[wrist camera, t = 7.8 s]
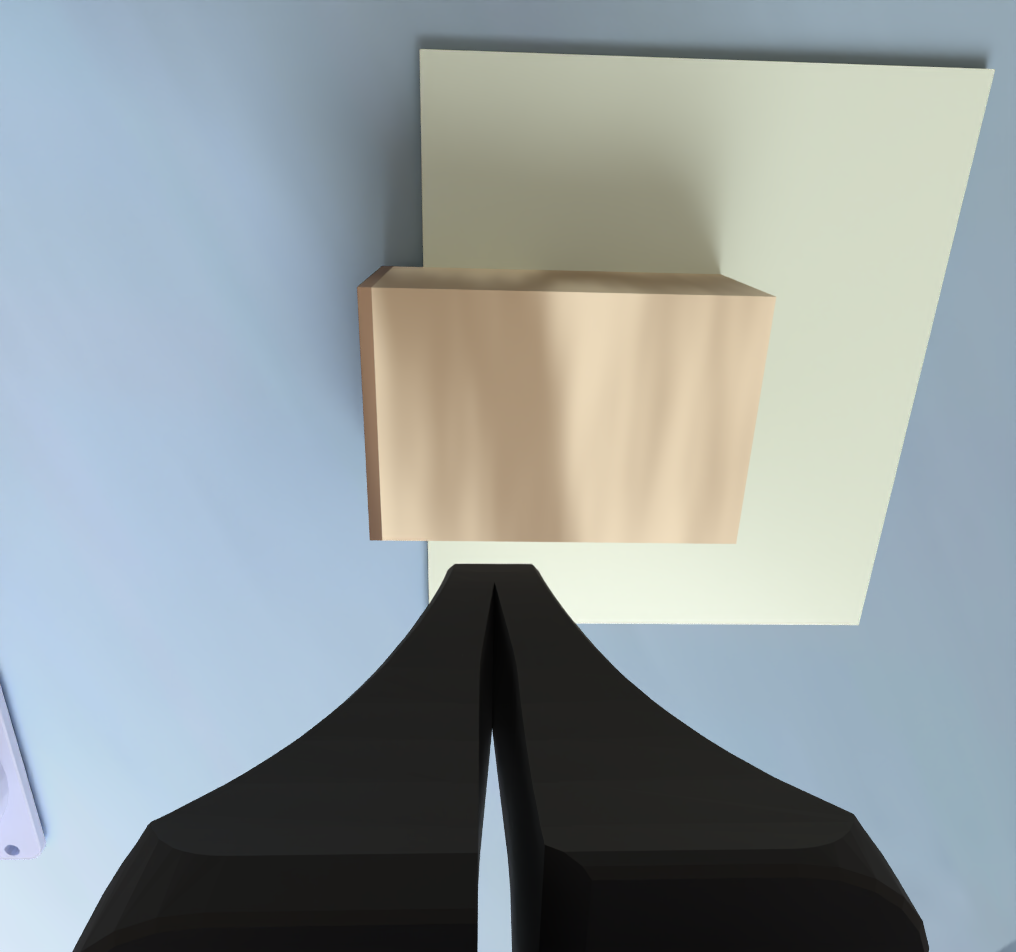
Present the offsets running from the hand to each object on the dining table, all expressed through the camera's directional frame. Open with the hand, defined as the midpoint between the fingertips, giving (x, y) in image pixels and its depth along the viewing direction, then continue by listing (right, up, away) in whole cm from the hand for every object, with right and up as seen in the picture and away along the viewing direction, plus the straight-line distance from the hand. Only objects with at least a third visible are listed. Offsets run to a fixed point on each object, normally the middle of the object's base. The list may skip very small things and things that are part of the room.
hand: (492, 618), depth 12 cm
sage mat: (+5, +5, +9) cm, 12 cm away
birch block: (-3, +4, +7) cm, 9 cm away
